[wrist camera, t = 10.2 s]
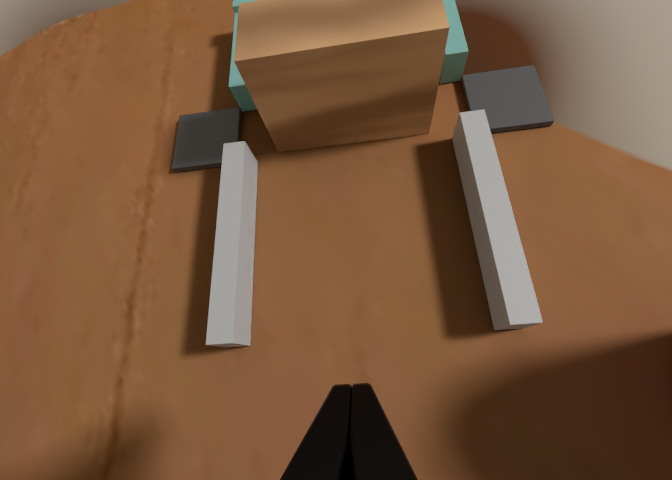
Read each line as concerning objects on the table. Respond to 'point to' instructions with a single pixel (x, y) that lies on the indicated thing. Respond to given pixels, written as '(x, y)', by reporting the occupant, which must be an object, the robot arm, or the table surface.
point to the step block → (341, 68)
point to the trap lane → (473, 162)
